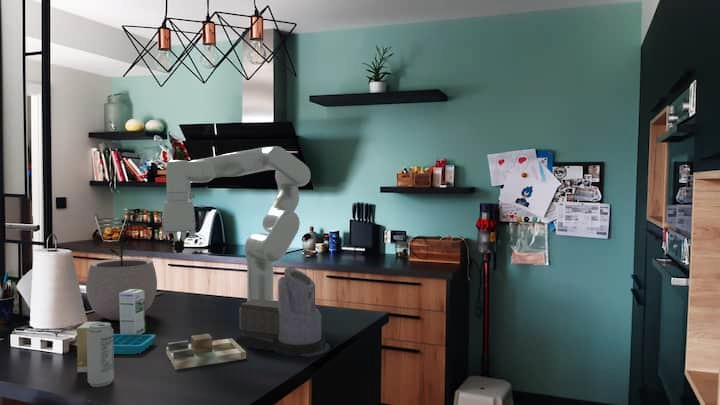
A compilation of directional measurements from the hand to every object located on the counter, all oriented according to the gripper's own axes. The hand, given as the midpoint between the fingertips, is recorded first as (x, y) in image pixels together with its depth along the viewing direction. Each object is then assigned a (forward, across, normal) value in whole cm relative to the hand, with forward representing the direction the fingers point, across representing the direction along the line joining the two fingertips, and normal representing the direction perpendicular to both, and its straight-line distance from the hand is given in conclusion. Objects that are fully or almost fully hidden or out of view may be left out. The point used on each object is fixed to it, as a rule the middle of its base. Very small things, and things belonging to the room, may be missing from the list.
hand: (179, 252), depth 182 cm
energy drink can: (+27, +26, +37) cm, 53 cm away
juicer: (+27, -26, +28) cm, 47 cm away
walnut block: (+25, -1, +28) cm, 38 cm away
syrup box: (+27, +14, -6) cm, 31 cm away
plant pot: (+27, +15, -29) cm, 43 cm away
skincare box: (+27, +28, +24) cm, 46 cm away
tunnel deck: (+27, -2, +28) cm, 39 cm away
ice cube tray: (+28, +20, +8) cm, 35 cm away
